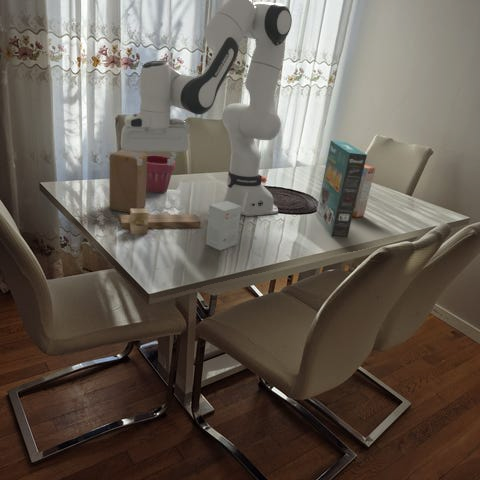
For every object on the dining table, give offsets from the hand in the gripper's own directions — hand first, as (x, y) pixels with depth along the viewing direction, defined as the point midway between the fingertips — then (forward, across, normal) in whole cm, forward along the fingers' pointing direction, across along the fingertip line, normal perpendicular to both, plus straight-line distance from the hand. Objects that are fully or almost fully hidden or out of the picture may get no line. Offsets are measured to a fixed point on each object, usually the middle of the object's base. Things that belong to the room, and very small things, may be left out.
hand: (155, 165), depth 132 cm
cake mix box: (+23, -66, +3) cm, 70 cm away
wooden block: (+21, +7, -17) cm, 28 cm away
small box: (+21, -18, +16) cm, 32 cm away
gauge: (+20, +6, +2) cm, 21 cm away
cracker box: (+24, -83, -12) cm, 88 cm away
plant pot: (+22, -7, -40) cm, 46 cm away
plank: (+21, -2, -2) cm, 21 cm away
